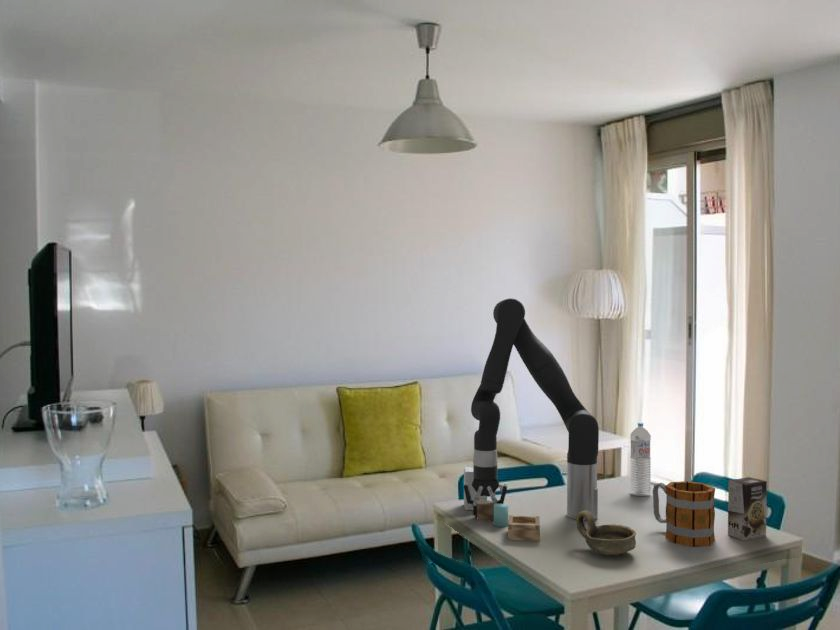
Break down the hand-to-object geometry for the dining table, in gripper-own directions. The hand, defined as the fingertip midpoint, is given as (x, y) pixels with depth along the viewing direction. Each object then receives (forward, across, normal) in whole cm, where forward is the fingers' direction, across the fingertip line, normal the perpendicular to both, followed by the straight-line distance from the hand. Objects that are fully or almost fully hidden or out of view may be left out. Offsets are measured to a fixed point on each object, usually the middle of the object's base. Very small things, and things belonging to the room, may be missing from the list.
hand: (485, 516), depth 236 cm
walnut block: (0, 0, 0) cm, 0 cm away
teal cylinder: (0, -5, +6) cm, 8 cm away
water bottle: (+1, -52, -35) cm, 63 cm away
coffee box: (+1, -76, +7) cm, 76 cm away
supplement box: (+1, +4, -12) cm, 13 cm away
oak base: (0, -12, +15) cm, 19 cm away
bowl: (+1, -34, +26) cm, 43 cm away
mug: (+1, -57, +10) cm, 58 cm away
